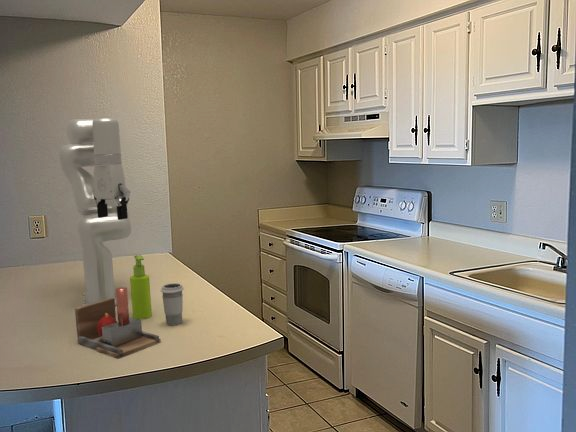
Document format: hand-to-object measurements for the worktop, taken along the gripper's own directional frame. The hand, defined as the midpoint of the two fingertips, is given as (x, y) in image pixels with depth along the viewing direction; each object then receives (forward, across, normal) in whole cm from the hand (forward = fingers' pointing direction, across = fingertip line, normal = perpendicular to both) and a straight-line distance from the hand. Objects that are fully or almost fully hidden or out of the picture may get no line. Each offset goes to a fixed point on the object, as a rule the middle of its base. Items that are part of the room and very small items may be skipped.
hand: (112, 218), depth 168 cm
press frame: (+33, +12, -10) cm, 37 cm away
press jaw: (+32, +15, -10) cm, 37 cm away
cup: (+34, +13, +10) cm, 37 cm away
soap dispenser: (+34, -1, +9) cm, 35 cm away
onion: (+34, +8, -10) cm, 36 cm away
